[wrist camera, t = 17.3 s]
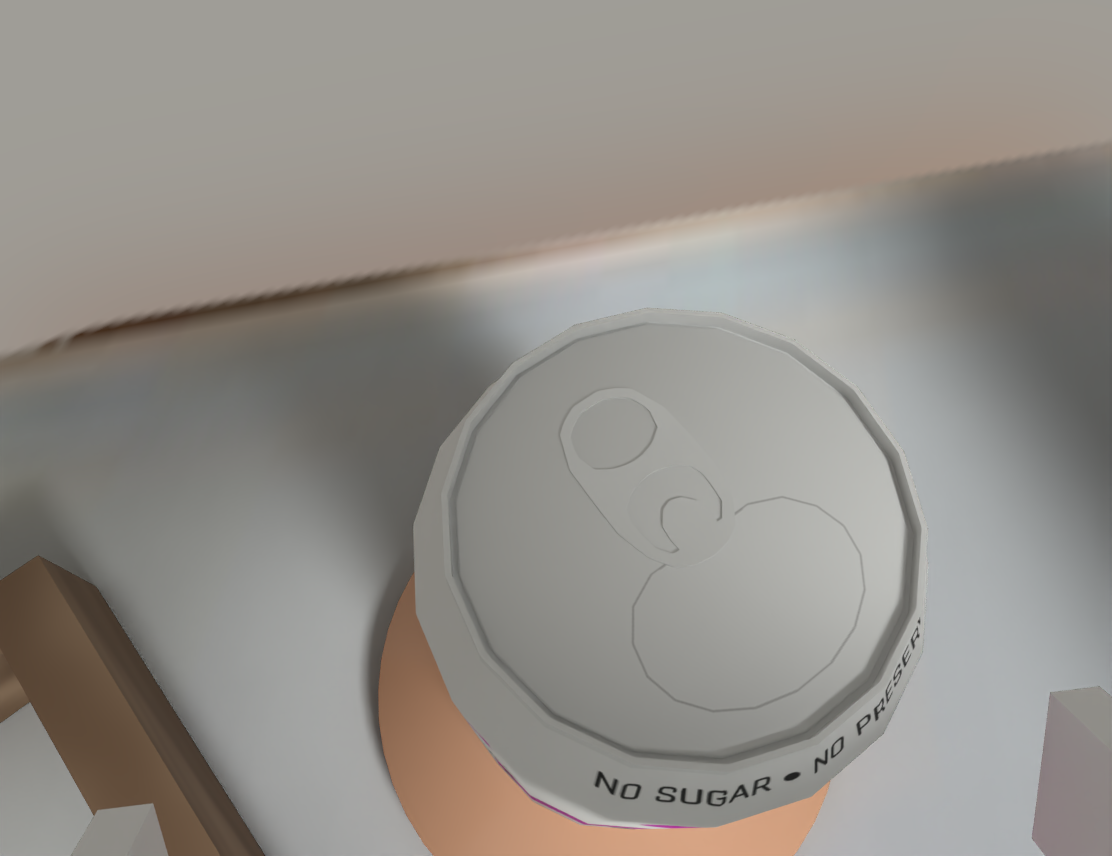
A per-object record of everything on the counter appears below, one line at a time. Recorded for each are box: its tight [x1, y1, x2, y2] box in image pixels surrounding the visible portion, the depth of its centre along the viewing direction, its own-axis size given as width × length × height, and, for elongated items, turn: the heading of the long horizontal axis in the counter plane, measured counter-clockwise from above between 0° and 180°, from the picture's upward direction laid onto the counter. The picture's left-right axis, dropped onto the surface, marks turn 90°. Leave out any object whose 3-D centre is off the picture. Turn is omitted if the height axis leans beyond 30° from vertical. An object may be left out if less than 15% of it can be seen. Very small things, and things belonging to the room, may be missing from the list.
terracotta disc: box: [378, 571, 830, 856], centre depth 26 cm, size 14×14×1 cm
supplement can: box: [413, 308, 928, 829], centre depth 19 cm, size 8×8×15 cm
